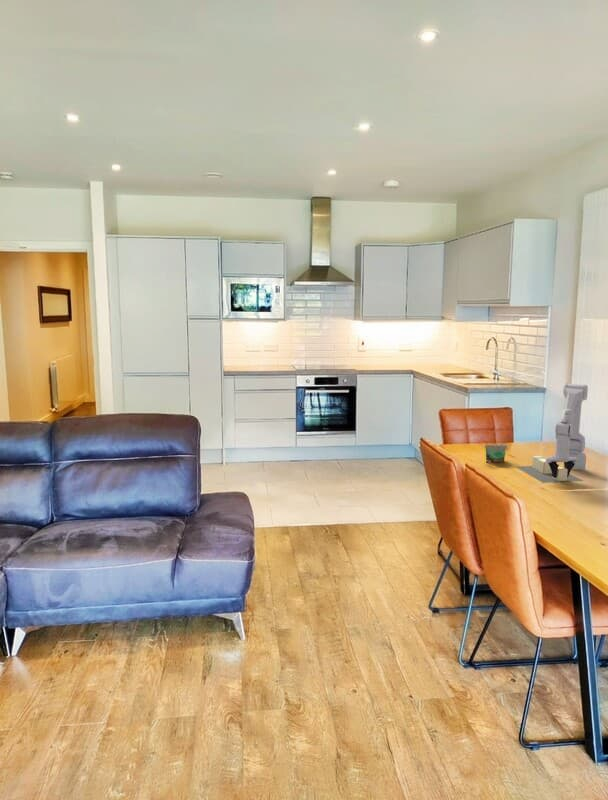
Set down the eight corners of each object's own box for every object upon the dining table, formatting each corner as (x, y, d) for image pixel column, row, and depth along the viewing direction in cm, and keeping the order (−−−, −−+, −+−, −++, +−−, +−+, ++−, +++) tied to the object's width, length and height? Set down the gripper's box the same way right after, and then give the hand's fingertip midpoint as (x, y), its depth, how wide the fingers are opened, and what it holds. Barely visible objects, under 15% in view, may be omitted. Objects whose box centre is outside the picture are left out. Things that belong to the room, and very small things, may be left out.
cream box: (540, 466, 277) (540, 456, 276) (552, 473, 266) (553, 462, 265) (531, 467, 276) (532, 456, 275) (543, 473, 266) (544, 462, 265)
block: (560, 477, 259) (561, 466, 258) (566, 480, 254) (567, 469, 253) (552, 477, 258) (552, 466, 258) (558, 481, 254) (558, 469, 253)
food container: (490, 466, 281) (491, 447, 280) (483, 462, 287) (484, 444, 286) (511, 464, 285) (512, 445, 283) (504, 461, 290) (505, 442, 289)
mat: (552, 466, 280) (552, 465, 280) (583, 482, 254) (583, 481, 254) (515, 468, 278) (515, 466, 277) (542, 484, 252) (542, 482, 252)
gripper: (552, 451, 249) (550, 480, 251) (582, 450, 250) (580, 479, 252) (543, 447, 255) (541, 475, 258) (573, 446, 257) (571, 474, 259)
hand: (560, 477), depth 255 cm, fingers open, 5 cm apart
